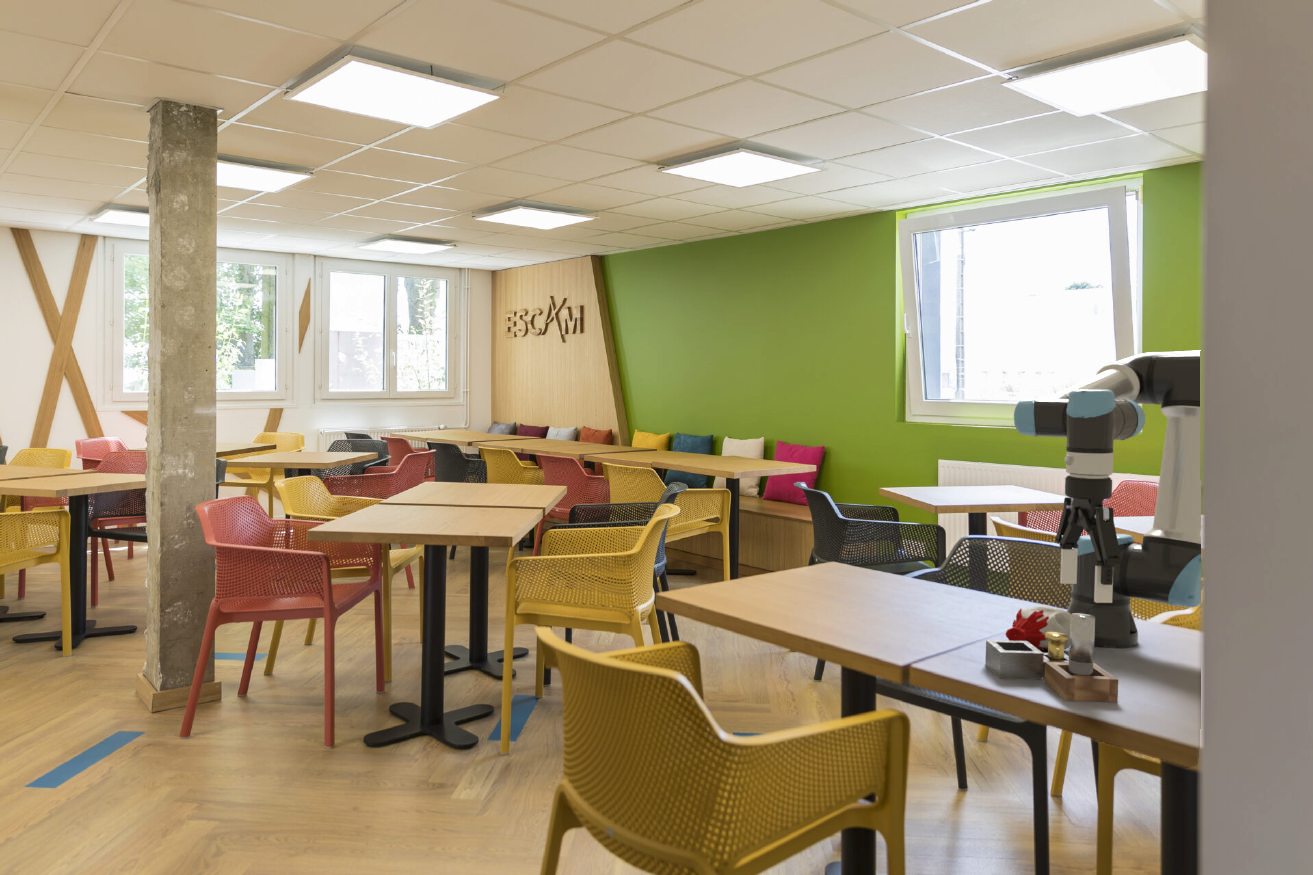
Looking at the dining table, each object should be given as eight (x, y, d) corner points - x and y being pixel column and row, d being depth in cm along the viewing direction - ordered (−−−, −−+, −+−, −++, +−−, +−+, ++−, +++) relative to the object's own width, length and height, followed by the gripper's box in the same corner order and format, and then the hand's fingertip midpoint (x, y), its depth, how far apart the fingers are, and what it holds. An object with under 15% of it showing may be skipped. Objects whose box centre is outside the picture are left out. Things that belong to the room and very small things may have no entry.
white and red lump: (1085, 648, 180) (1037, 666, 173) (1039, 634, 190) (992, 650, 183) (1084, 607, 178) (1035, 624, 172) (1038, 595, 188) (990, 610, 182)
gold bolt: (1061, 667, 167) (1062, 632, 167) (1070, 673, 163) (1071, 637, 163) (1040, 666, 167) (1041, 631, 167) (1049, 673, 163) (1050, 637, 163)
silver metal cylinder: (1085, 688, 157) (1088, 613, 156) (1096, 696, 153) (1099, 619, 152) (1063, 687, 157) (1066, 612, 156) (1073, 695, 153) (1076, 618, 152)
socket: (1061, 666, 169) (1063, 641, 169) (1080, 680, 161) (1081, 654, 161) (985, 664, 170) (986, 639, 169) (999, 678, 162) (1000, 652, 161)
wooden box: (1093, 684, 159) (1094, 663, 159) (1117, 701, 150) (1118, 679, 150) (1044, 682, 159) (1045, 661, 159) (1065, 700, 150) (1066, 677, 150)
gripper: (1039, 468, 165) (1036, 576, 166) (1100, 484, 140) (1096, 610, 142) (1078, 468, 165) (1075, 576, 166) (1147, 484, 140) (1142, 611, 141)
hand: (1084, 592), depth 154 cm, fingers open, 13 cm apart
